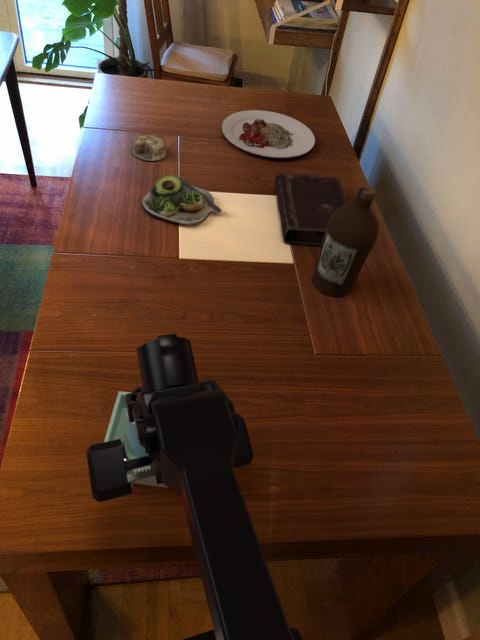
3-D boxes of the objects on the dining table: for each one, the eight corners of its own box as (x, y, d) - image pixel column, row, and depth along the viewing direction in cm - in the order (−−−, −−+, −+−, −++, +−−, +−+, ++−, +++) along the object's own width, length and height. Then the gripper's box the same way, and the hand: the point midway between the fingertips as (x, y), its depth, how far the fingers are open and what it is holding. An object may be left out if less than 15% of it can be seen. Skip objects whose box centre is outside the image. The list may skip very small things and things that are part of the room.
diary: (281, 243, 117) (285, 227, 113) (272, 187, 133) (276, 171, 130) (354, 250, 119) (360, 234, 115) (336, 193, 136) (342, 177, 132)
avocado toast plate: (232, 201, 126) (234, 185, 123) (205, 237, 114) (207, 222, 111) (166, 178, 129) (166, 163, 126) (133, 212, 117) (133, 196, 114)
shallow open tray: (179, 491, 73) (180, 477, 69) (99, 481, 72) (96, 467, 68) (191, 416, 82) (193, 400, 78) (120, 406, 81) (118, 390, 77)
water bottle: (165, 462, 74) (166, 416, 64) (124, 457, 74) (119, 410, 64) (171, 426, 79) (174, 377, 69) (133, 421, 78) (130, 371, 68)
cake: (138, 142, 141) (138, 124, 137) (170, 150, 140) (172, 133, 137) (126, 156, 133) (126, 137, 130) (160, 164, 133) (161, 146, 129)
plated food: (323, 132, 160) (326, 123, 158) (298, 173, 141) (301, 162, 138) (241, 107, 165) (242, 97, 162) (206, 143, 145) (207, 132, 143)
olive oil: (323, 261, 114) (355, 167, 96) (362, 282, 111) (403, 190, 93) (300, 283, 108) (330, 187, 90) (341, 306, 105) (381, 212, 86)
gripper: (243, 358, 55) (219, 393, 69) (74, 388, 50) (85, 420, 63) (269, 454, 51) (238, 471, 65) (89, 499, 46) (97, 507, 60)
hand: (166, 464), depth 63 cm, fingers open, 9 cm apart
